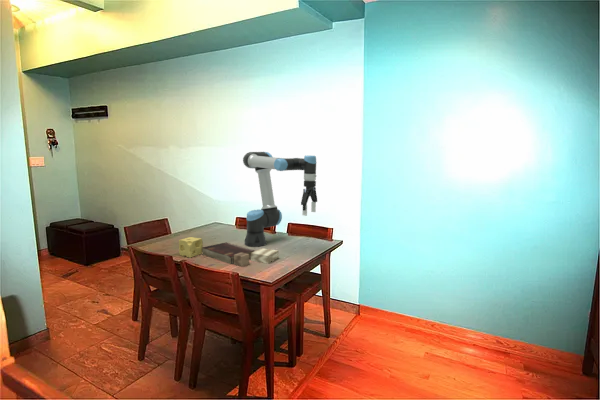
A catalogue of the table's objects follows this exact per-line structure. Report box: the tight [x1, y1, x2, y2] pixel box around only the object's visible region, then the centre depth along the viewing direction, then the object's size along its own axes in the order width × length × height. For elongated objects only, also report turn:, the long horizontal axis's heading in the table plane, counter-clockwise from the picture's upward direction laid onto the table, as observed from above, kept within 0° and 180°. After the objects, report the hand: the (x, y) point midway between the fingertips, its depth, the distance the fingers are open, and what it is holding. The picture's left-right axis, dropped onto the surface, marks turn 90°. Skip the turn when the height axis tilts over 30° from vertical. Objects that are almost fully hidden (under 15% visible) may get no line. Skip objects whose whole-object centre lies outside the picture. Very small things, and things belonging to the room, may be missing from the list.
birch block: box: [250, 247, 280, 264], centre depth 211 cm, size 12×12×5 cm
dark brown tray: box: [201, 242, 256, 265], centre depth 218 cm, size 29×19×5 cm, turn 49°
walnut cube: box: [233, 252, 250, 268], centre depth 201 cm, size 6×6×6 cm
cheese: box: [178, 236, 204, 259], centre depth 219 cm, size 10×11×10 cm
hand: (309, 213), depth 223 cm, fingers open, 13 cm apart
